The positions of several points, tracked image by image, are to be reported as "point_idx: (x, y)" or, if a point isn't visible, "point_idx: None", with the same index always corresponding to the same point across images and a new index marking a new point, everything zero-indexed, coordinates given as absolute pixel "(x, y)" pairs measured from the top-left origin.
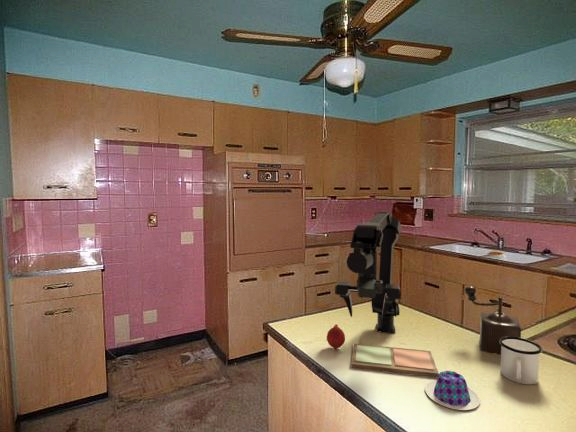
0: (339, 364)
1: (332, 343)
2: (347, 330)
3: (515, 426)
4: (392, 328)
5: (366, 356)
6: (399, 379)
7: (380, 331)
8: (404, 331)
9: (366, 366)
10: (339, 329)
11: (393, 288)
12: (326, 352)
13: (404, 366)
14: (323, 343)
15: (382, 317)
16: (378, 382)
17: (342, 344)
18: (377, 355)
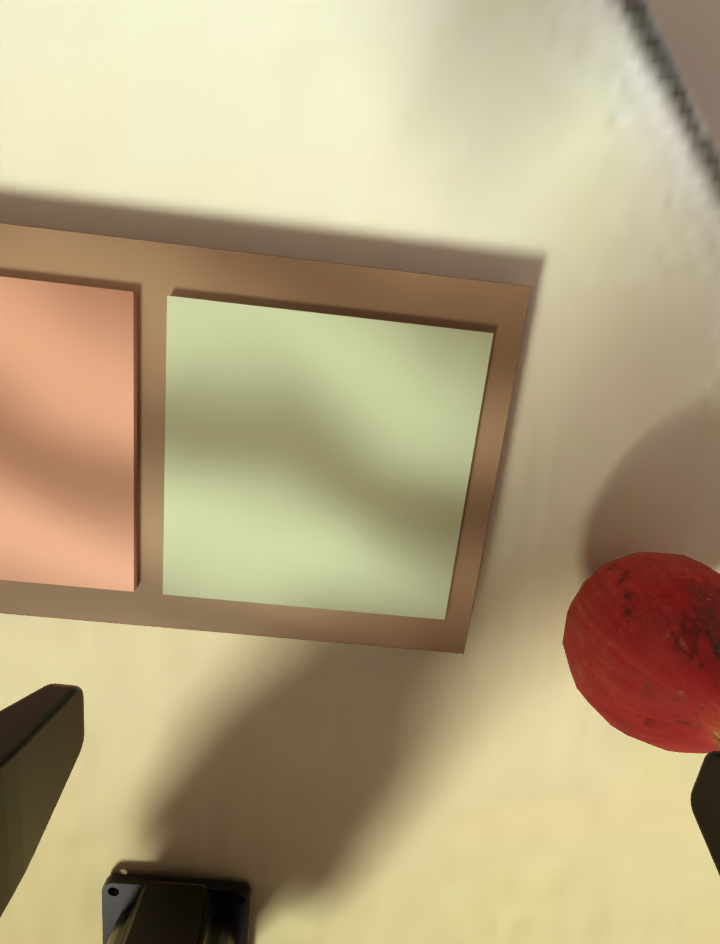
0: (614, 339)
1: (694, 561)
2: (475, 882)
3: None
4: (117, 926)
5: (382, 422)
6: (128, 137)
7: (220, 885)
8: (36, 911)
9: (397, 273)
10: (686, 695)
11: None
12: (694, 527)
13: (54, 283)
14: None
15: (47, 713)
16: (314, 60)
17: (585, 583)
18: (281, 451)
